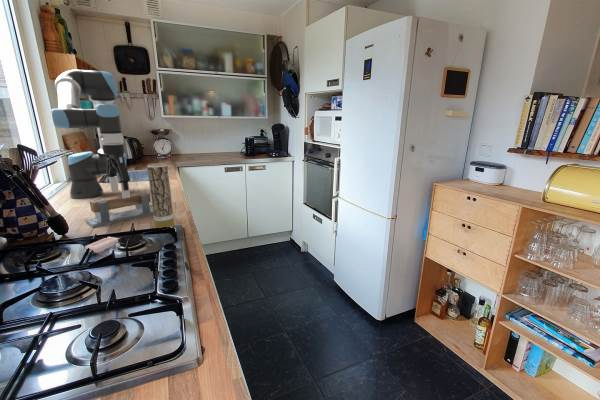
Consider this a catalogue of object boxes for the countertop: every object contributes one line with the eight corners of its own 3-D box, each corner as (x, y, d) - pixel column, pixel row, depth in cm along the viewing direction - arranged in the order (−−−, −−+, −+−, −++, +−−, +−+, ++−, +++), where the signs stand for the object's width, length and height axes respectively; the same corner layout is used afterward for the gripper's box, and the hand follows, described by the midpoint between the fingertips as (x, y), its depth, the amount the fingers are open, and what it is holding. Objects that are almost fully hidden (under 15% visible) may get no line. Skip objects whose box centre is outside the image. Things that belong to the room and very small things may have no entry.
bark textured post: (167, 232, 115) (159, 166, 109) (151, 230, 117) (142, 165, 110) (177, 225, 122) (171, 163, 115) (162, 224, 123) (155, 162, 116)
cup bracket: (85, 221, 126) (81, 200, 123) (150, 208, 144) (147, 190, 142) (92, 227, 119) (88, 205, 117) (159, 213, 138) (157, 193, 135)
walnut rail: (91, 210, 124) (89, 201, 123) (147, 200, 140) (146, 191, 139) (94, 212, 121) (92, 203, 120) (150, 202, 137) (149, 193, 136)
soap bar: (121, 244, 105) (120, 237, 104) (97, 255, 97) (96, 248, 96) (109, 242, 107) (108, 235, 106) (84, 253, 98) (83, 246, 98)
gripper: (93, 142, 129) (101, 190, 135) (113, 147, 113) (121, 202, 119) (112, 141, 134) (119, 187, 140) (134, 145, 118) (141, 198, 124)
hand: (120, 194), depth 130 cm, fingers open, 13 cm apart
